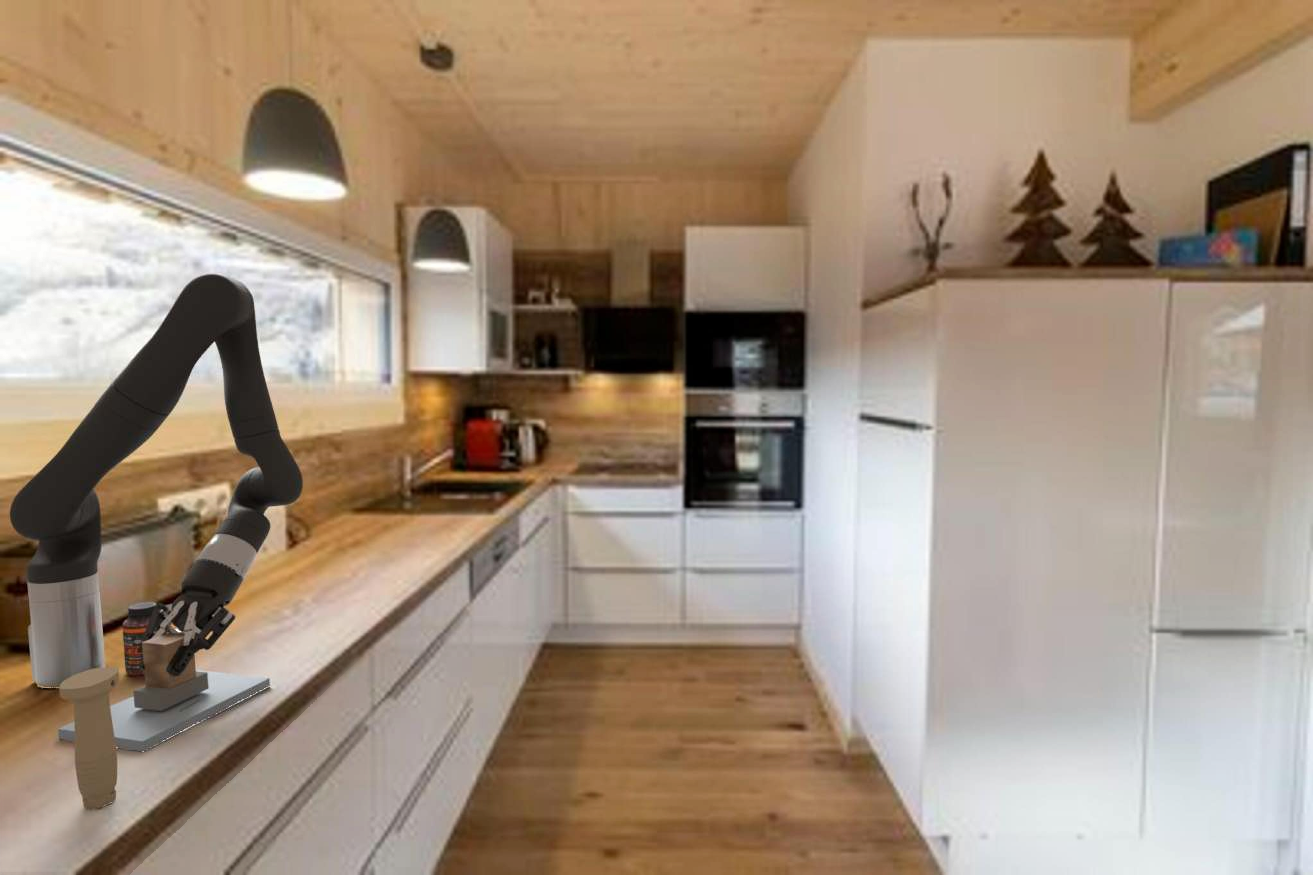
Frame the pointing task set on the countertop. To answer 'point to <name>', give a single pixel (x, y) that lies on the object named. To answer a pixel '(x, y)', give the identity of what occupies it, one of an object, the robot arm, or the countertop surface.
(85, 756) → the handle
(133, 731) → the board
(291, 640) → the countertop surface
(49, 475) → the robot arm
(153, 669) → the block
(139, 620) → the supplement bottle
